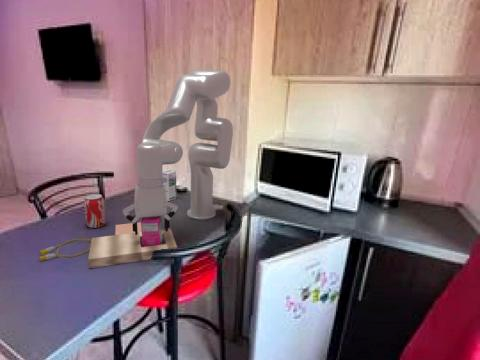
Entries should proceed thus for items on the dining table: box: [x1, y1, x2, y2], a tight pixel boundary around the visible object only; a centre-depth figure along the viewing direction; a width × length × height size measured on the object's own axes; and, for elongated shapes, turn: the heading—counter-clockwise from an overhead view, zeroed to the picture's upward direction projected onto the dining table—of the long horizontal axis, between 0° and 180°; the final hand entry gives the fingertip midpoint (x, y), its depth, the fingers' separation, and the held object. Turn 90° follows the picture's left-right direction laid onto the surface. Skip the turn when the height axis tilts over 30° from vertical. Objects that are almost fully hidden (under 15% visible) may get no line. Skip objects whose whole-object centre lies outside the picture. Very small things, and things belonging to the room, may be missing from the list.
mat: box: [114, 221, 142, 235], centre depth 112 cm, size 14×12×1 cm
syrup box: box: [162, 169, 178, 202], centre depth 145 cm, size 6×6×14 cm
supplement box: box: [140, 216, 164, 247], centre depth 99 cm, size 6×6×12 cm
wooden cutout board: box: [87, 228, 178, 269], centre depth 98 cm, size 26×14×3 cm, turn 111°
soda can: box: [83, 193, 107, 229], centre depth 113 cm, size 7×7×12 cm
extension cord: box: [39, 238, 92, 263], centre depth 97 cm, size 12×16×2 cm
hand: (151, 231), depth 98 cm, fingers open, 9 cm apart
